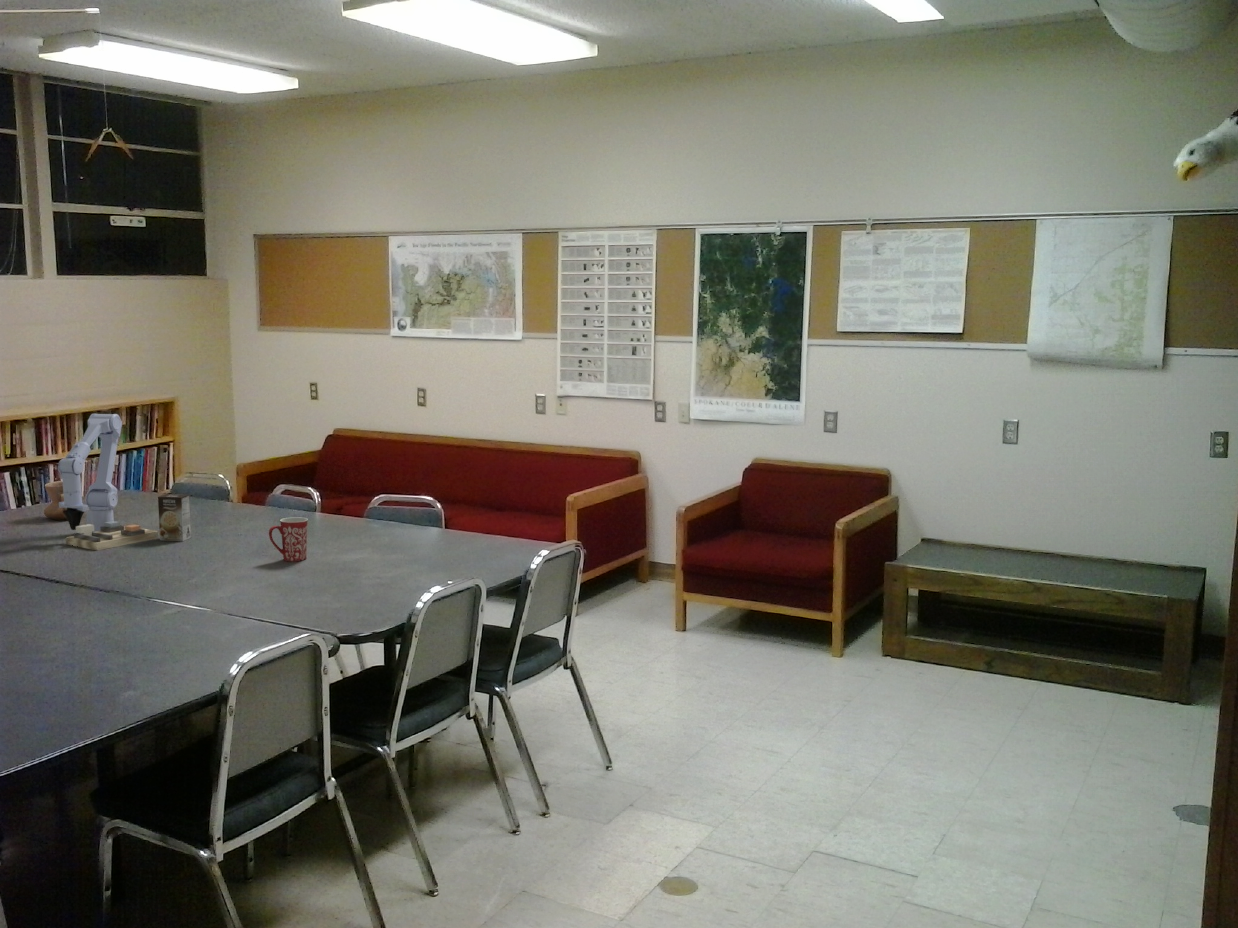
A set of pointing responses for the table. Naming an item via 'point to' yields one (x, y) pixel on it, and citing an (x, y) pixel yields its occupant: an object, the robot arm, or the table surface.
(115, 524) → the grey button
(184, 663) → the table surface
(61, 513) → the ceramic jug
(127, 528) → the terracotta button
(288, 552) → the mug
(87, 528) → the slider knob
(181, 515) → the coffee box
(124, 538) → the control panel
